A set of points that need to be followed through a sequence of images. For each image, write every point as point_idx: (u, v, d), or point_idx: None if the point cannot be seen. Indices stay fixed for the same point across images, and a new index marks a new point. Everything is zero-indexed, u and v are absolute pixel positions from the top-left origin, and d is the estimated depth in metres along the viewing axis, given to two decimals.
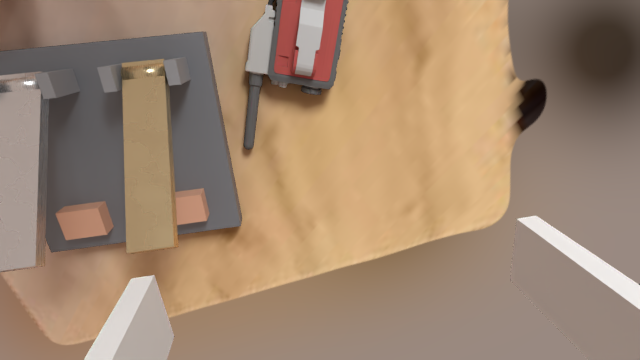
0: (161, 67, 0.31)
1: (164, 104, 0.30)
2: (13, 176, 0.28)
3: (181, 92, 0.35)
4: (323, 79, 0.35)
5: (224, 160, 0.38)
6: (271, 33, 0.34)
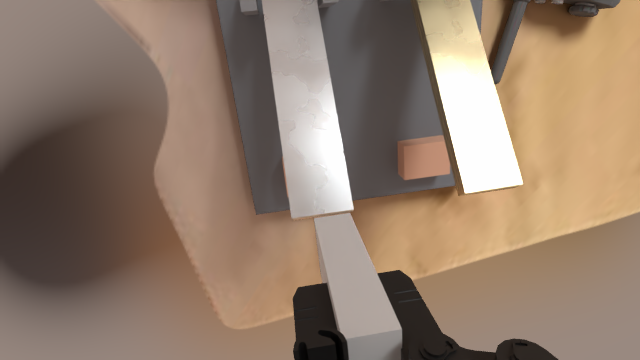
0: None
1: (471, 10, 0.24)
2: (302, 97, 0.22)
3: None
4: None
5: None
6: None
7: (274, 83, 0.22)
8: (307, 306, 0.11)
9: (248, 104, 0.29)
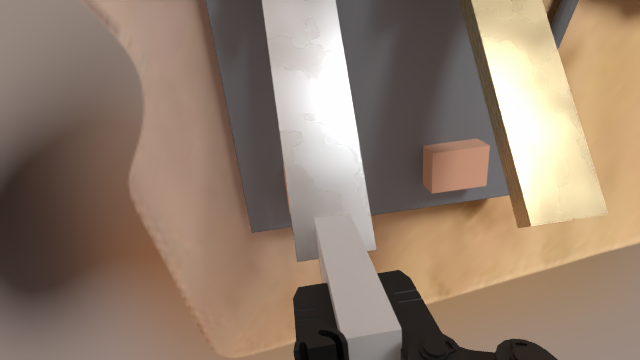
0: None
1: None
2: (311, 100, 0.17)
3: None
4: None
5: None
6: None
7: (274, 81, 0.17)
8: (307, 306, 0.11)
9: (241, 101, 0.23)
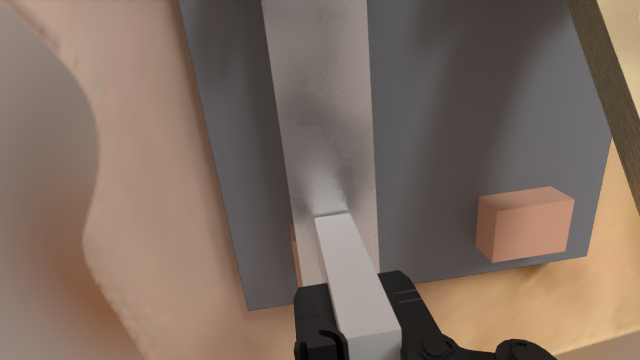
0: None
1: None
2: (327, 163, 0.14)
3: None
4: None
5: (607, 130, 0.19)
6: None
7: (283, 140, 0.14)
8: (307, 306, 0.11)
9: (232, 141, 0.17)
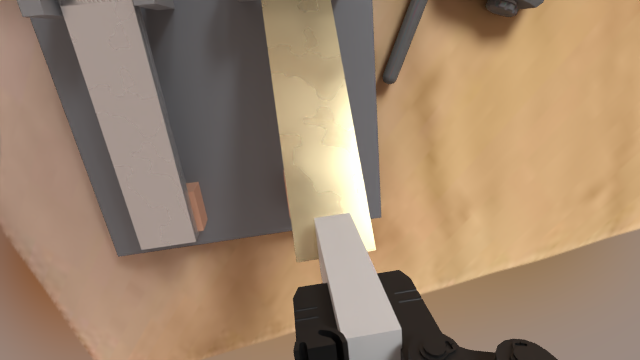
0: None
1: (331, 15, 0.18)
2: (135, 141, 0.21)
3: None
4: None
5: (372, 121, 0.26)
6: None
7: (101, 125, 0.21)
8: (307, 306, 0.11)
9: (87, 128, 0.24)
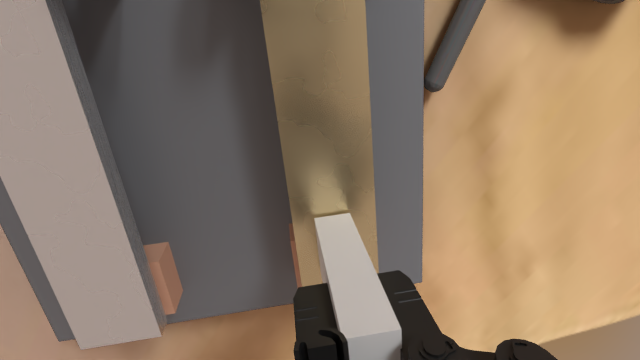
0: None
1: (362, 29, 0.13)
2: (59, 199, 0.14)
3: None
4: None
5: (416, 155, 0.18)
6: None
7: (3, 176, 0.13)
8: (307, 306, 0.11)
9: None
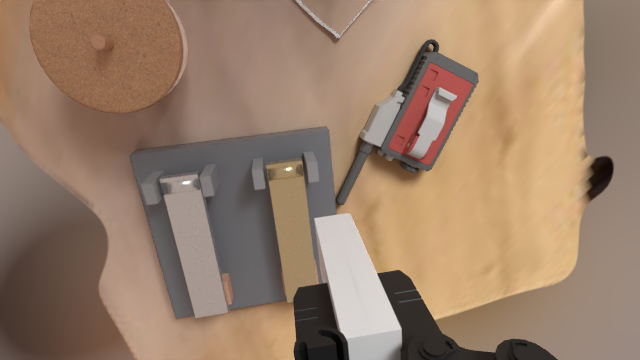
0: (302, 171, 0.36)
1: (305, 200, 0.37)
2: (197, 258, 0.37)
3: (305, 180, 0.39)
4: (426, 162, 0.40)
5: None
6: (395, 115, 0.38)
7: (179, 251, 0.37)
8: (307, 306, 0.11)
9: (164, 245, 0.40)
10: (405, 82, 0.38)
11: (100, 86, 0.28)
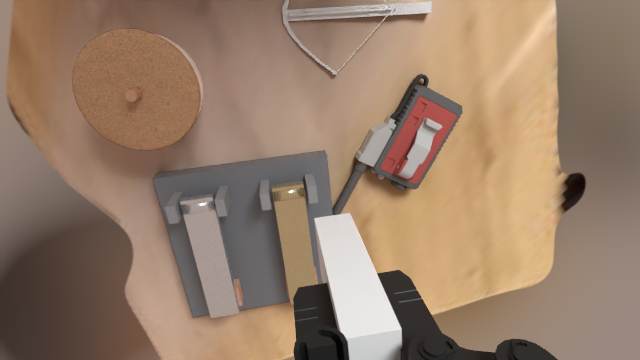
0: (303, 193, 0.41)
1: (306, 218, 0.42)
2: (212, 268, 0.43)
3: (306, 198, 0.45)
4: (413, 182, 0.45)
5: None
6: (387, 140, 0.43)
7: (196, 262, 0.42)
8: (307, 306, 0.11)
9: (183, 255, 0.45)
10: (397, 111, 0.43)
11: (131, 129, 0.34)
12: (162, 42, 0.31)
